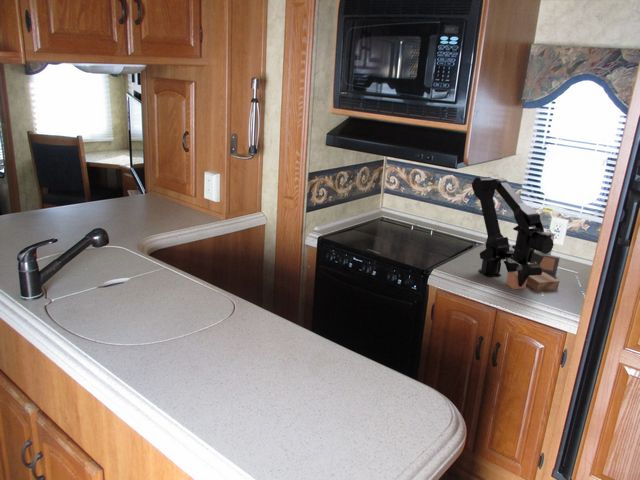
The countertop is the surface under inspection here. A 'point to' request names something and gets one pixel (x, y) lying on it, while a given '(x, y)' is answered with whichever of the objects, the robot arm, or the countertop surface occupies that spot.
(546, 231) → the syrup box
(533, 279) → the base block
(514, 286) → the terracotta cube
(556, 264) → the swatch sign
